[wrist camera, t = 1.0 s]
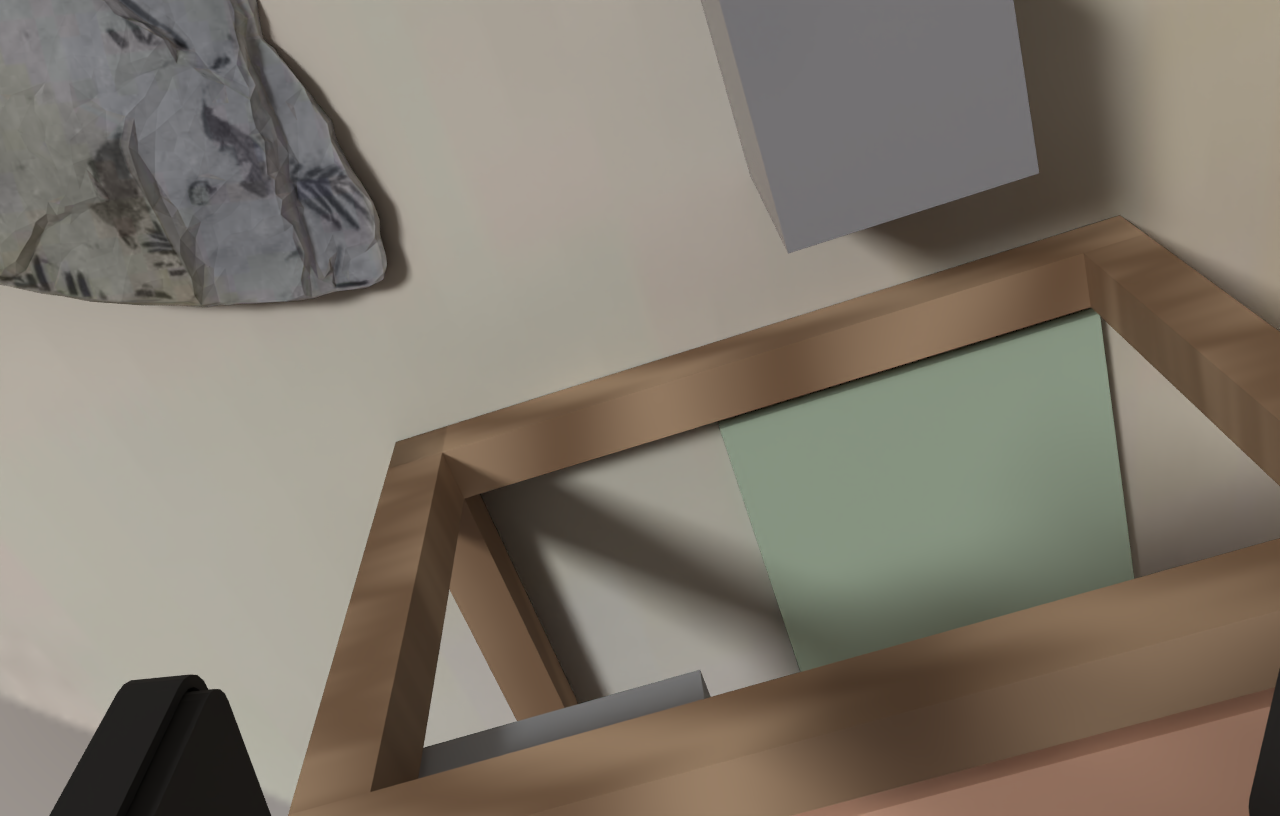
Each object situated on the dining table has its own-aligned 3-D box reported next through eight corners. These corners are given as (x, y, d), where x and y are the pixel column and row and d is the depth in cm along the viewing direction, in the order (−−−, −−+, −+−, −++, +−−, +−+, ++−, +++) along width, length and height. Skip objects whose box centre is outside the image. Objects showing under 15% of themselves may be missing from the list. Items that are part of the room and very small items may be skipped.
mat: (1093, 307, 31) (1099, 313, 31) (1132, 601, 36) (1138, 609, 36) (718, 422, 32) (719, 429, 32) (807, 691, 37) (809, 700, 37)
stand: (579, 809, 39) (581, 1313, 26) (396, 442, 32) (267, 886, 19) (1169, 649, 37) (1499, 1109, 24) (1119, 215, 30) (1557, 534, 16)
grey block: (911, -116, 26) (998, -99, 20) (952, 106, 28) (1039, 173, 23) (690, -38, 26) (718, -2, 21) (749, 173, 29) (788, 253, 23)
